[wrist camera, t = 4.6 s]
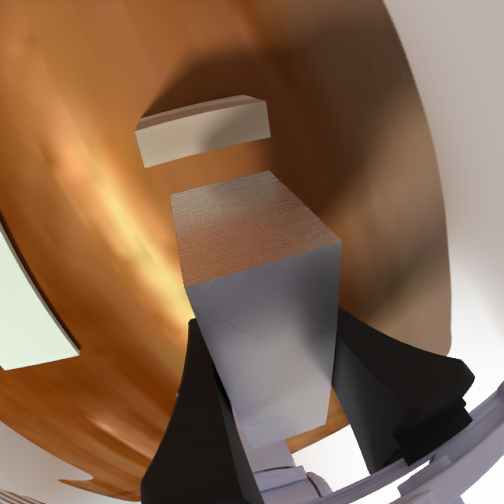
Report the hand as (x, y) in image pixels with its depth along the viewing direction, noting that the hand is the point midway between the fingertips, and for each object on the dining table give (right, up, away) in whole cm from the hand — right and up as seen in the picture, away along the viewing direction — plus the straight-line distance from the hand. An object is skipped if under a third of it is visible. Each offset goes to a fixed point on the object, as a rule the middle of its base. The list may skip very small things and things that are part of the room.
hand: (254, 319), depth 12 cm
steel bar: (0, +1, +1) cm, 2 cm away
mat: (-17, -1, +3) cm, 17 cm away
